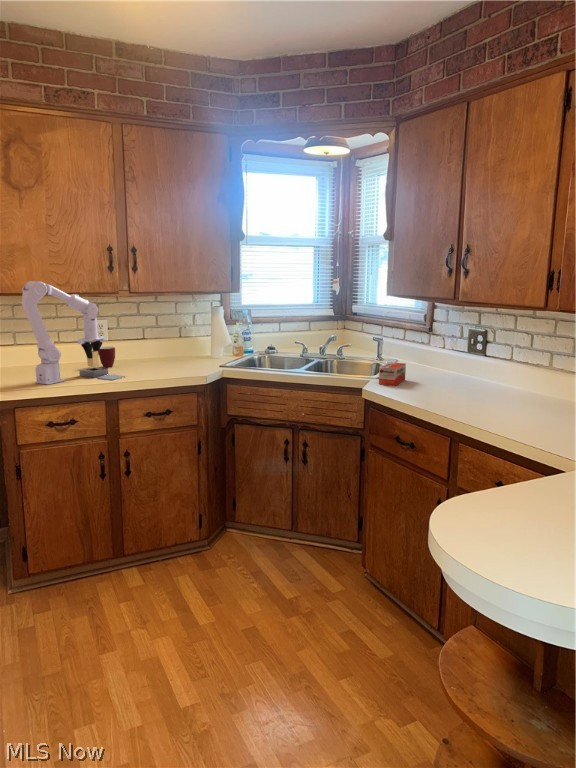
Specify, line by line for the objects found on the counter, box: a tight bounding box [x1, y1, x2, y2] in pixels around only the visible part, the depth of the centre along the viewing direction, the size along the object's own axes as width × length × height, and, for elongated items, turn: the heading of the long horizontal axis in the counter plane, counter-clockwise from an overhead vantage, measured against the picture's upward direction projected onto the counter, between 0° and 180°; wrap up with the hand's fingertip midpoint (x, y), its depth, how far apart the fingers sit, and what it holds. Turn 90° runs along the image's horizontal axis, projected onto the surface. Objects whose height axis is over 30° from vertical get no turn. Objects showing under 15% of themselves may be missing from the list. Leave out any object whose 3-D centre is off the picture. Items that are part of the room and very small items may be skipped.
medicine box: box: [378, 361, 407, 387], centre depth 243 cm, size 15×8×8 cm, turn 153°
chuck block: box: [78, 366, 109, 379], centre depth 257 cm, size 9×9×3 cm
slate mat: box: [96, 373, 126, 381], centre depth 253 cm, size 9×9×1 cm
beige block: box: [86, 350, 100, 368], centre depth 256 cm, size 4×4×7 cm
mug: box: [98, 346, 116, 369], centre depth 279 cm, size 10×8×10 cm
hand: (92, 357), depth 255 cm, fingers closed on beige block, 3 cm apart
